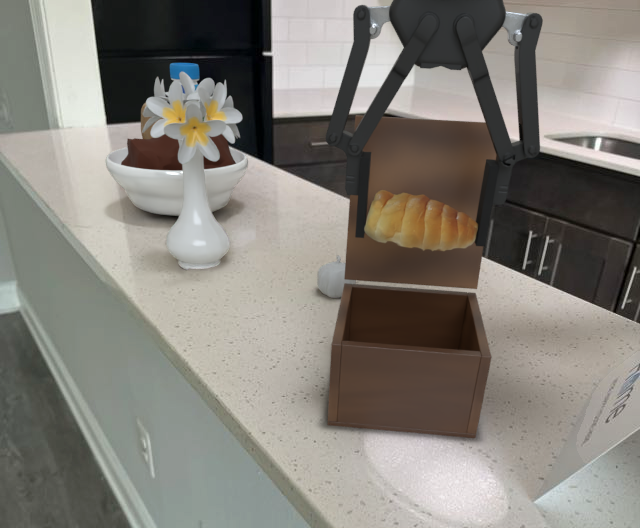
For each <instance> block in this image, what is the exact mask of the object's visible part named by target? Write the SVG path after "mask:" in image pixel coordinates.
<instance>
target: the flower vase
mask: <svg viewBox="0 0 640 528" xmlns="http://www.w3.org/2000/svg"><path fill="white" fill-rule="evenodd" d="M179 77H180V81H181V83H182V86H183V88H184V90H185V94H184V93H183V91H182V86H181V84H180V82H179V81H174V80H172V81H171V83H170V86H169V89H168V91H165V84H164V78H162V79H161V81H160V79H159V76H156V78H155V80H154V81H155V82H154V86H153V94H154V95H153V96H149V97H148V98H147V99H146V101H145V103H146V105H147V106H146V107H145V109H144V112H143V116H144V117H152V118H150V119H149V120H148V121H147V122H146V124H145V126H144V128H143V130H142V133H143V132H144V131H145V130H147V129H148V128H149V127H150V126H151V125H152V124H153V123H155V122H156V121H157V120H158V121H157V122H156V123H155V124H154V125H153V127H152V129H151V132H150V134H151V136H152V137H153V138H157V137H160V136H162V135H164V134H166V135H167V136H169V137H171V138H173V139H178V143H179V147H180V148H179V151H178V160H179V162H180V163H181V164H182V170H183V204H182V209H181V212H180V215H179V216H178V218H177V219H176V221H175V222H174V223H173V224H172V225H171V227H170V229H169V230H168V232H167V234H166V237H165V245H166V250H167V252H169V254H170V255H171V256H172V257H173V258H175V259H176V260H177V263H178V266H179V267H180V268H181V269H184V270H186V271H188V270H189V269H192V270H193V269H194V270H201V269H202V270H205V269H210V268H214V267H216V266H219V265H220V264H221V259H222V258H223V257H225V255H227V253H228V251H229V250H230V246H231V238H230V235H229V234H228V232H227V230H226V229H225V227H224V226H223V225H222V224H221V223H220V222H219V221H218V220H217V219H216V218H215V216H214V214H213V212H211V209H210V207H209V204H208V199H207V193H206V184H205V174H204V156H205V157H206V158H207V159H209V160H211V161H218V160H219V158H220V154H219V151H218V149H217V147H216V145H215V144H214V142H213V141H212V140H211V139H210V137H209V136H211V137H215V136H218V135H220V134H222V135H223V136H224V137H225V138H226V139H227V141H228V143H230V144H232V145H233V144H235V142H236V139H237V140H238V138H239V139H241V135H240V131H239V128H238V126H237V124H239V123H241V122H242V121H243V114H242V113H241V112H240V111H239V110H238V109H236V108H235V107H234V100H233V97H232V96H231V95H228V88H227V80H226V79H224V83H222V82H217V83H216V85H215V81H214V80H213V78H211V77H206V78H204V79H202V80H201V81H200V82H199V83H198V87H197V89H196V90H195V85H194V83H193V81H192V79H191V78H190V77H189V76H188V75H187V74H186V73H185V72H180V74H179ZM227 95H228V97H227ZM161 117H162V118H163V119H160V118H161ZM159 119H160V120H159Z"/></svg>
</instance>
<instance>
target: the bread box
mask: <svg viewBox="0 0 640 528" xmlns="http://www.w3.org/2000/svg"><path fill="white" fill-rule="evenodd" d="M330 345H331V347H330V365H329V387H328V407H327V423H326V425H327V426H333V427H344V428H354V429H355V428H356V429H366V430H376V431H377V430H378V431H389V432H399V433H400V432H401V433H410V434H411V433H412V434H423V435H433V436H434V435H435V436H445V437H455V438H456V437H457V438H467V439H476V437H477V433H478V428H479V422H480V417H481V413H482V408H483V403H484V397H485V392H486V387H487V382H488V377H489V372H490V367H491V362H492V354H491V353H492V352H491V348H490V345H489V341H488V337H487V333H486V329H485V325H484V320H483V316H482V313H481V309H480V304H479V300H478V296H477V293H476V292H469V291H468V292H467V291H457V290H456V291H455V290H446V289H445V290H443V289H431V288H429V289H428V288H417V287H416V288H414V287H402V286H389V285H386V286H385V285H375V284H362V283H361V284H360V283H356V284H347V283H345V284H344V287H343V292H342V297H340V302H339V307H338V312H337V316H336V321H335V326H334V331H333V334H332V340H331V344H330Z"/></svg>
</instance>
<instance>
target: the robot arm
mask: <svg viewBox="0 0 640 528" xmlns="http://www.w3.org/2000/svg"><path fill="white" fill-rule="evenodd" d="M352 16H353V17H352V18H353V19H352V20H353V22H352V27H353V29H352V31H353V32H352V33H353V42H352V45H351V49H350V53H349V56H348V59H347V63H346V66H345V69H344V72H343V76H342V80H341V82H340V86H339V88H338V93H337V97H336V99H335V103H334V107H333V110H332V112H331V116H330V117H331V118H330V120H329V124H328V127H327V131H326V134H325V142H326V143H327V145H329V146H331V147H335V148H338V149H340V150H341V151H343V152H344V153H345V156H346V169H345V185H344V190H345V192H346V195H347V196H350V195H358V204H357V219H356V233H355V237H356V238H364V234H365V231H364V227H365V225H366V214H367V201H368V188H369V176H370V163H371V152H363V148H364V146H365V145H366V143H367V141H368V140H369V138H370V136H371V135H372V133H373V131H374V130H375V128H376V126H377V125H378V123H379V121H380V120H381V118H382V117H384V115H385V113H386V112H387V110H388V108H389V107H390V105H391V103H392V102H393V100H394V98H395V97H396V95H397V93H398V92H399V91H400V88H401V87H402V85H403V84H404V82H405V81H406V79H407V78H408V76H409V75H410V73H411V71H412V69H413V68H414V66H416V67H419V69H429V70H432V69H436V68H439V67H442V68H445V69H447V70H450V71H462V70H464V69H466V70H467V73H468V75H469V76H468V77H469V78H470V81H471V84H472V87H473V90H474V93H475V95H476V98H477V99H476V100H477V102H478V104H479V107H480V111H481V113H482V116H483V119H484V122H486V125H487V128H488V131H489V134H490V137H491V140H492V143H493V146H494V149H495V152H496V155H497V156H496V160H491V159H486V163H485V169H484V175H483V181H482V187H481V193H480V199H479V205H478V211H477V217H476V222H477V223H478V231H477V234H476V239H475V244H476V246H483V248H485V247H486V242H487V237H488V232H489V227H490V221H491V216H492V210H493V209H492V208H493V205H495V206H503V205H504V204H505V202H506V200H507V198H508V194H509V193H508V192H509V188H510V183H511V177H512V172H513V168H514V166H515V165H516V164H517V163H518V162H520V161H523V160H526V159H534V158H536V157H538V155H539V154H540V151H541V139H540V138H541V137H540V136H541V135H540V119H539V118H540V117H539V97H538V79H537V78H538V77H537V76H538V75H537V74H538V73H537V57H536V49H537V46H538V42H539V39H540V35H541V32H542V26H543V21H544V20H543V16H541V14H540V13H537V12H526V13H520V12H514V11H509V10H506V6H505V3H504V0H392V1H391V3H390V5H379V6H367V5H366V4H360V5H357V6H356V7H355V8H354V10H353V14H352ZM388 22H390V24H391V26H392V28H393V29H394V32H395V34H396V35H397V38H398V39H399V41H400V43H401V45H402V47H403V49H401V52H400V53H399V55H398V56H397V59H396V60H395V62H394V64H393V65H392V67H391V69H390V70H389V72H388V74H387V76H386V78H384V81H383V83H382V84H381V86H380V87H379V89H378V91H377V93H376V94H375V96H374V98H373V100H372V101H371V103H370V104H369V106H368V108H367V109H366V111H365V113H364V115H362V116H363V118H362V120H361V122H360V123H359V125H358V127H357V128H356V130H355V132H354V131H353V133H352V132H349V131H347V130H345V129H346V126H347V122H348V119H349V115H350V112H351V110H352V105H353V103H354V100H355V96H356V93H357V89H358V86H359V83H360V79H361V76H362V73H363V70H364V66H365V63H366V60H367V56H368V54H369V50H370V46H371V40H375V39H377V38H378V37H379V36H380V34H381V32H382V29H383V26H384V25H385V24H386V23H388ZM502 28H503V29H505V31H506V33H507V42H508V43H509V45H511V46H513V47H514V53H513V57H514V58H513V61H514V76H515V93H516V106H517V107H516V108H517V123H518V138H519V140H517V141H513V142H512V141H511V138H510V135H509V131H508V128H507V125H506V123H505V119H504V116H503V112H502V110H501V107H500V104H499V101H498V97H497V94H496V92H495V89H494V86H493V82H492V80H491V79H492V78H491V76H490V72H489V68H488V65H487V63H486V59H485V56H484V53H483V51H484V50H485V49H486V47H487V46H488V45H489V44H490V42H491V41H492V40H493V39H494V37H496V35H497V34H498V33H499V31H500V30H501V29H502Z"/></svg>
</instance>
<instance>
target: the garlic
mask: <svg viewBox="0 0 640 528" xmlns="http://www.w3.org/2000/svg"><path fill="white" fill-rule="evenodd" d="M341 259H342V258H341V256H340V255H338V254H337V255H336V261H331V262H327V263H325V264H323V265H321V266H320V267H319V268H318V270H317V282H316V283H317V288H318V290H319V291H320V292H321V293H322V294H323V295H324V296H327V297H328V298H331V299H338V298H341V297H342V292H343V287H344V284H345V283H347V284H357V280H345V279H344V277H345V262H342V260H341Z"/></svg>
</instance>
